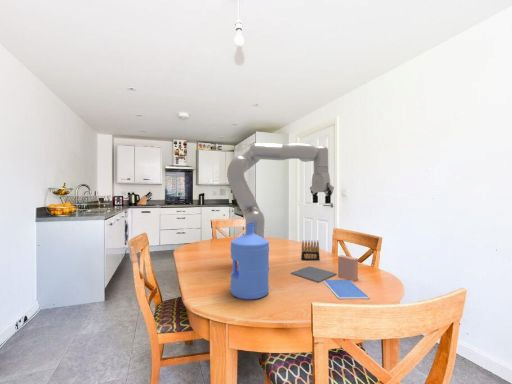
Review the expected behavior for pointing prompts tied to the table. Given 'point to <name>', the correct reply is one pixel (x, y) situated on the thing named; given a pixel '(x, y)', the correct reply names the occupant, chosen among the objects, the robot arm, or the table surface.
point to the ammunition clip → (314, 252)
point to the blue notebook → (345, 289)
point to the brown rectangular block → (348, 267)
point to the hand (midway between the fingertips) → (321, 203)
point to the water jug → (250, 265)
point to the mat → (314, 274)
